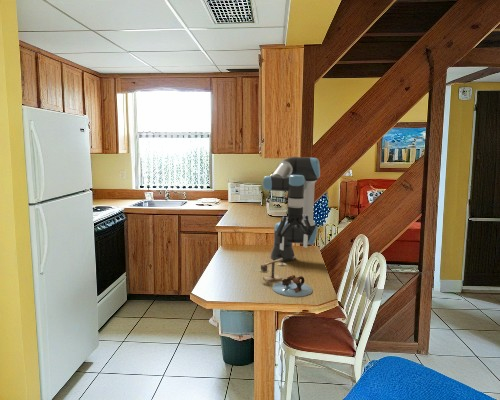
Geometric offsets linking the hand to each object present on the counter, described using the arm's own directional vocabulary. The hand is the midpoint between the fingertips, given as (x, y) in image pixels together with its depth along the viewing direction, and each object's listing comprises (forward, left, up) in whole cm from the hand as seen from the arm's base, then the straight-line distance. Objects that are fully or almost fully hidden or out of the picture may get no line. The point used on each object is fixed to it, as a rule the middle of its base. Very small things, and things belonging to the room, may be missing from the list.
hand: (293, 248), depth 204 cm
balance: (+3, -15, -21) cm, 26 cm away
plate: (0, +1, -21) cm, 21 cm away
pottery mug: (0, +3, -21) cm, 21 cm away
